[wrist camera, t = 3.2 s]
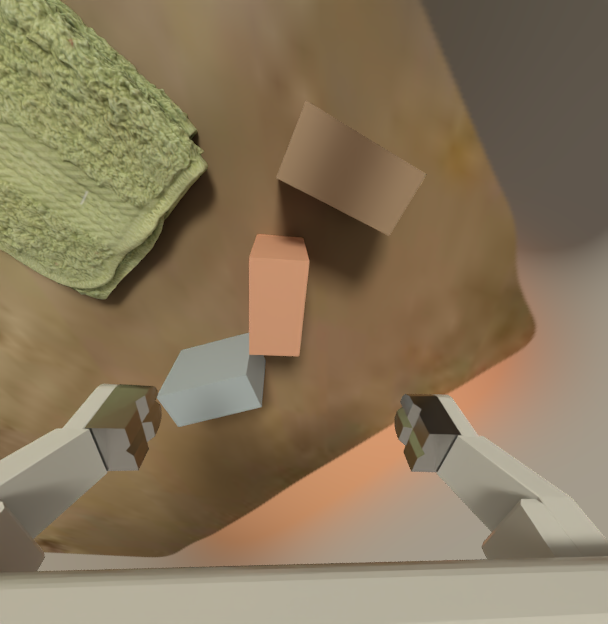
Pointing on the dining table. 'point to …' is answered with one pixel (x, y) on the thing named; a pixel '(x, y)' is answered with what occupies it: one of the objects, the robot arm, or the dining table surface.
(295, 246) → the brick terracotta
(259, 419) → the dining table surface
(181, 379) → the brick slate
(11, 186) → the washcloth
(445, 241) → the dining table surface
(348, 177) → the brick walnut
